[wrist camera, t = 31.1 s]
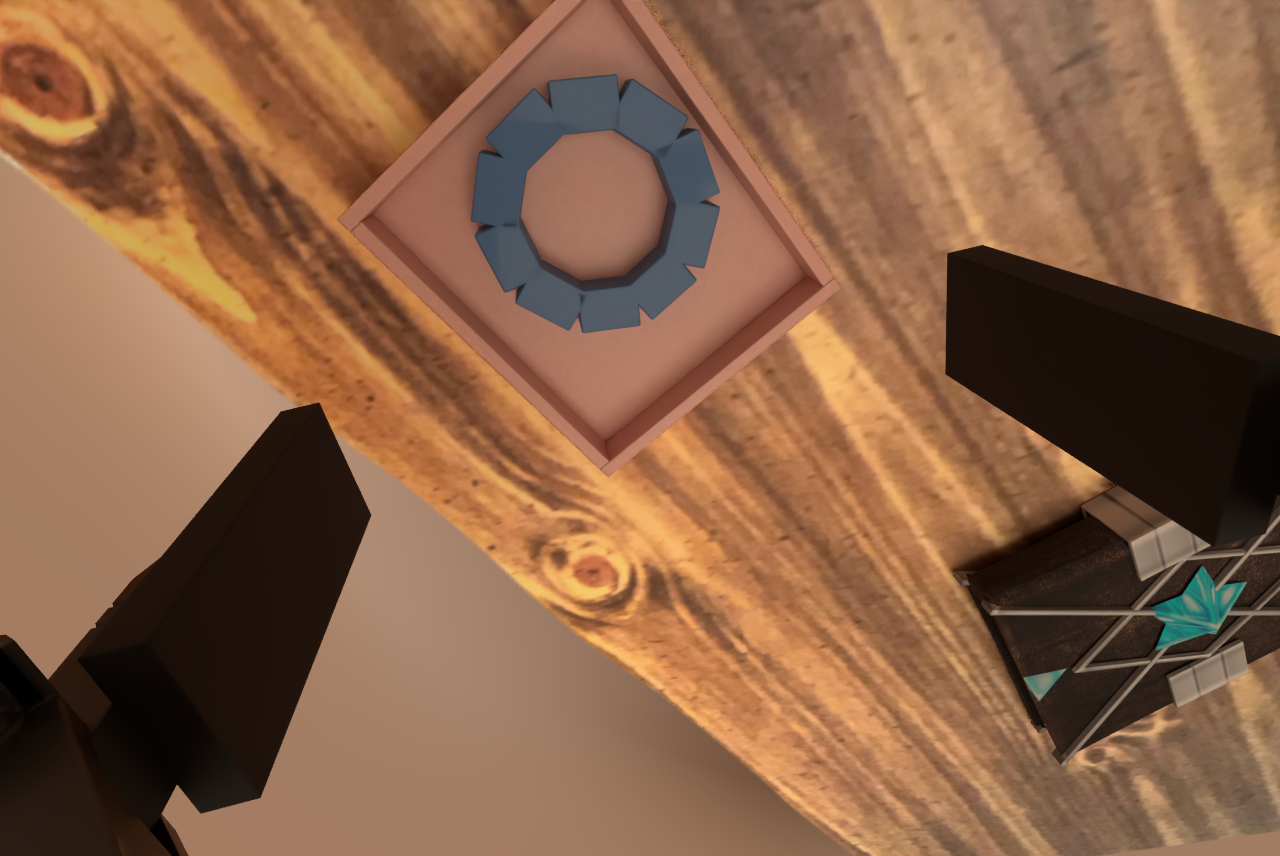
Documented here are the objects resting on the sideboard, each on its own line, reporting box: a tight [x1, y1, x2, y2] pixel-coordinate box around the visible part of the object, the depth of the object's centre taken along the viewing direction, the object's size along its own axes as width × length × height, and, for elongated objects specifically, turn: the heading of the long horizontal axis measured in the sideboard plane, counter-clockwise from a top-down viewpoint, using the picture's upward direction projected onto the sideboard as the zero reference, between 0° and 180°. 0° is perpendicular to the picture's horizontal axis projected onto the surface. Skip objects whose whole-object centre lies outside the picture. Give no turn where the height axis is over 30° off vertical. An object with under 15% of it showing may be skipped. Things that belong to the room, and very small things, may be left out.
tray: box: [337, 0, 841, 477], centre depth 27 cm, size 15×13×2 cm
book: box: [953, 485, 1280, 766], centre depth 39 cm, size 22×17×5 cm
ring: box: [471, 74, 720, 333], centre depth 27 cm, size 9×10×2 cm
